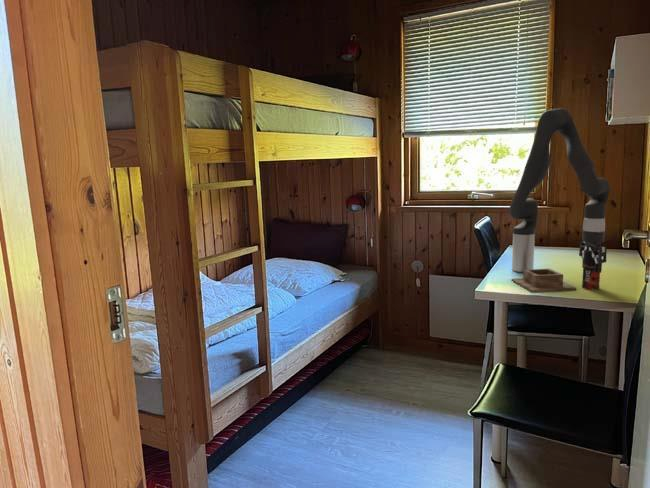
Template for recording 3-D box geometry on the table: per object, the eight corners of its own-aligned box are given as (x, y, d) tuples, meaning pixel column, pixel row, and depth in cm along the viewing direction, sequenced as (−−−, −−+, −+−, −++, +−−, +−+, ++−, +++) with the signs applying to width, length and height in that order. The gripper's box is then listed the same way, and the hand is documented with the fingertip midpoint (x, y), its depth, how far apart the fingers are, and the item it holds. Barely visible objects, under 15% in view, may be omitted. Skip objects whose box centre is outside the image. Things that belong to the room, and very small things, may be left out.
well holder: (511, 281, 209) (511, 268, 208) (552, 279, 210) (553, 266, 209) (531, 292, 191) (531, 278, 190) (576, 290, 192) (576, 276, 191)
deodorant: (581, 288, 194) (583, 251, 191) (583, 285, 198) (585, 248, 196) (598, 290, 190) (600, 252, 188) (599, 287, 195) (602, 249, 193)
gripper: (574, 227, 197) (572, 267, 200) (595, 232, 183) (592, 274, 186) (592, 226, 198) (590, 266, 200) (614, 231, 184) (612, 273, 186)
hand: (591, 270), depth 193 cm, fingers open, 8 cm apart
